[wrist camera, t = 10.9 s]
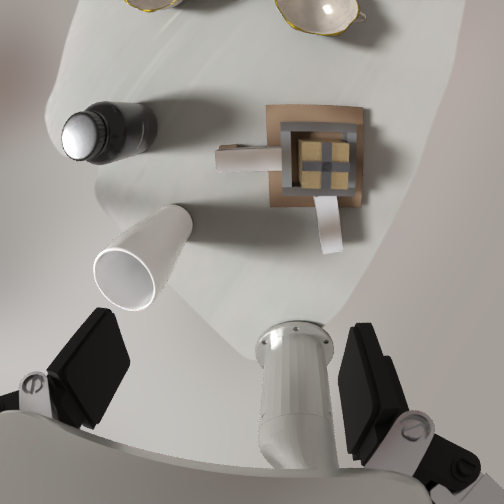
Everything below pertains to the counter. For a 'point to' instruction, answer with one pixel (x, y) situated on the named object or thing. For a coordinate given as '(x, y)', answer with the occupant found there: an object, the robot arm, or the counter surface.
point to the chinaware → (293, 13)
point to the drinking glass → (142, 258)
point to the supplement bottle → (109, 132)
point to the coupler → (323, 163)
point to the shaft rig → (286, 161)
